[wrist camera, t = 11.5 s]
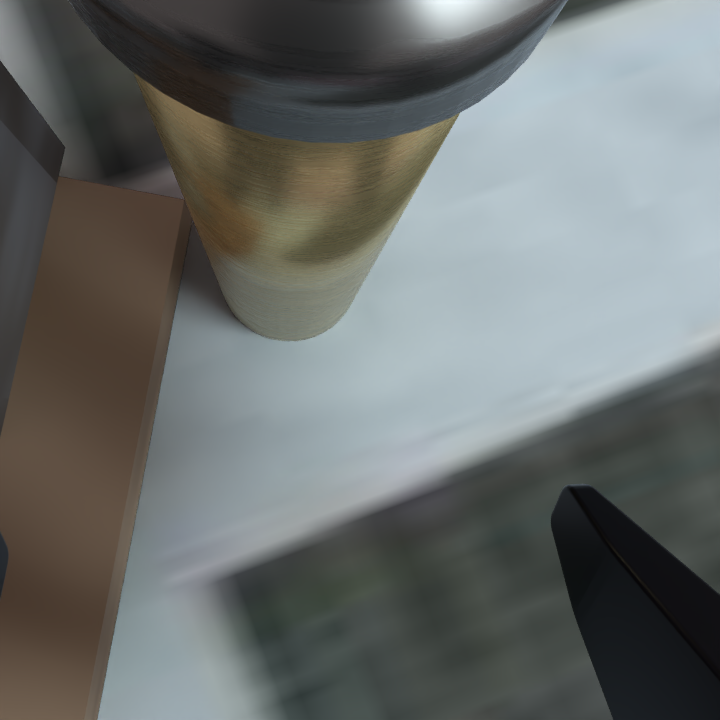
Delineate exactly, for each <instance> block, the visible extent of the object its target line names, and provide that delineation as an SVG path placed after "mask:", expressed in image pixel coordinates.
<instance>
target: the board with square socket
mask: <svg viewBox="0 0 720 720" xmlns="http://www.w3.org/2000/svg"><path fill="white" fill-rule="evenodd" d="M64 150H65V146H64V145H63V144H62V142H61V141H60V140H59V138H58V137H57V136H56V134H55V133H54V132H53V130H52V129H51V128H50V126H49V125H48V124H47V122H46V121H45V120H44V118H43V117H42V116H41V114H40V113H39V112H38V110H37V109H36V108H35V106H34V105H33V104H32V102H31V101H30V100H29V98H28V97H27V96H26V94H25V93H24V92H23V90H22V89H21V88H20V86H19V85H18V84H17V82H16V81H15V80H14V78H13V77H12V76H11V74H10V73H9V72H8V70H7V69H6V68H5V66H4V65H3V64H2V62H1V61H0V532H1V534H2V536H3V538H4V540H5V542H6V544H7V547H8V552H9V559H8V566H7V570H6V575H5V580H4V585H3V589H2V594H1V599H0V720H97V718H98V712H99V707H100V702H101V697H102V691H103V686H104V681H105V676H106V670H107V665H108V660H109V655H110V649H111V644H112V639H113V634H114V628H115V623H116V618H117V613H118V607H119V602H120V597H121V591H122V586H123V581H124V576H125V570H126V565H127V560H128V555H129V549H130V544H131V539H132V534H133V528H134V523H135V518H136V513H137V507H138V502H139V497H140V492H141V486H142V481H143V476H144V471H145V465H146V460H147V455H148V450H149V444H150V439H151V434H152V428H153V423H154V418H155V413H156V407H157V402H158V397H159V392H160V386H161V381H162V376H163V371H164V365H165V360H166V355H167V350H168V344H169V339H170V334H171V329H172V323H173V318H174V313H175V308H176V302H177V297H178V292H179V287H180V281H181V276H182V271H183V265H184V260H185V255H186V250H187V244H188V239H189V234H190V229H191V223H192V217H191V215H190V212H189V210H188V207H187V205H186V202H185V200H183V199H178V198H173V197H167V196H162V195H157V194H151V193H146V192H141V191H135V190H130V189H124V188H119V187H114V186H108V185H103V184H98V183H92V182H87V181H82V180H76V179H71V178H66V177H60V176H59V172H60V168H61V163H62V159H63V154H64Z"/></svg>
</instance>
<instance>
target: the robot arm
mask: <svg viewBox="0 0 720 720" xmlns="http://www.w3.org/2000/svg"><path fill="white" fill-rule="evenodd" d="M551 528H552V532H553V536H554V540H555V544H556V547H557V551H558V555H559V559H560V563H561V567H562V571H563V575H564V578H565V582H566V586H567V590H568V594H569V598H570V601H571V605H572V608H573V612H574V615H575V618H576V621H577V624H578V627H579V629H580V632H581V635H582V637H583V640H584V643H585V645H586V648H587V651H588V653H589V656H590V659H591V661H592V664H593V667H594V669H595V672H596V675H597V677H598V680H599V683H600V685H601V688H602V691H603V693H604V696H605V699H606V701H607V704H608V707H609V709H610V712H611V715H612V717H613V720H720V594H718V593H717V592H716V591H715V590H714V589H713V588H711V587H710V586H709V585H708V584H707V583H706V582H704V581H703V580H702V579H701V578H700V577H698V576H697V575H696V574H695V573H694V572H693V571H691V570H690V569H689V568H688V567H687V566H686V565H684V564H683V563H682V562H681V561H680V560H678V559H677V558H676V557H675V556H674V555H673V554H671V553H670V552H669V551H668V550H667V549H666V548H664V547H663V546H662V545H661V544H660V543H658V542H657V541H656V540H655V539H654V538H653V537H651V536H650V535H649V534H648V533H647V532H645V531H644V530H643V529H642V528H641V527H640V526H638V525H637V524H636V523H635V522H634V521H633V520H631V519H630V518H629V517H628V516H627V515H625V514H624V513H623V512H622V511H621V510H620V509H618V508H617V507H616V506H615V505H614V504H613V503H611V502H610V501H609V500H608V499H607V498H605V497H604V496H603V495H602V494H601V493H600V492H598V491H597V490H596V489H595V488H594V487H592V486H590V485H588V484H573V485H566V486H565V487H564V488H563V489H562V491H561V493H560V496H559V498H558V501H557V503H556V505H555V508H554V510H553V513H552V516H551ZM8 559H9V552H8V547H7V544H6V542H5V540H4V538H3V536H2V534H1V532H0V599H1V594H2V589H3V585H4V580H5V575H6V570H7V566H8Z"/></svg>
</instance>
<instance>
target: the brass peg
mask: <svg viewBox="0 0 720 720" xmlns="http://www.w3.org/2000/svg"><path fill="white" fill-rule="evenodd" d="M68 1H69V2H70V4H71V5H72V7H73V8H74V10H75V12H76V13H77V15H78V16H79V17H80V18H81V19H82V21H83V22H84V23H85V24H86V25H87V26H88V28H89V29H90V30H91V31H92V32H93V34H94V35H95V36H96V37H97V38H98V40H99V41H100V42H101V43H102V44H103V45H104V46H105V47H106V48H107V49H108V50H109V51H110V52H111V53H113V54H114V55H115V56H116V57H117V58H118V59H119V60H120V61H121V62H122V63H123V64H124V65H126V66H127V67H128V68H129V69H130V70H131V71H132V72H133V73H134V75H135V78H136V80H137V82H138V85H139V87H140V90H141V92H142V95H143V97H144V100H145V102H146V105H147V107H148V110H149V112H150V115H151V117H152V120H153V122H154V125H155V127H156V130H157V132H158V134H159V137H160V139H161V142H162V144H163V147H164V149H165V152H166V154H167V157H168V159H169V162H170V164H171V167H172V169H173V172H174V174H175V177H176V179H177V182H178V184H179V187H180V189H181V191H182V194H183V196H184V199H185V201H186V204H187V206H188V209H189V211H190V214H191V216H192V219H193V221H194V224H195V226H196V229H197V231H198V234H199V236H200V239H201V241H202V243H203V246H204V248H205V251H206V253H207V256H208V258H209V261H210V263H211V266H212V268H213V271H214V273H215V276H216V278H217V281H218V283H219V286H220V288H221V291H222V293H223V295H224V298H225V300H226V302H227V304H228V306H229V307H230V309H231V311H232V312H233V313H234V315H235V316H236V317H237V318H238V319H239V320H240V321H241V322H242V323H243V324H244V325H245V326H247V327H248V328H250V329H251V330H252V331H254V332H256V333H258V334H260V335H262V336H265V337H268V338H271V339H275V340H281V341H299V340H305V339H309V338H312V337H315V336H317V335H320V334H322V333H324V332H325V331H327V330H328V329H330V328H331V327H333V326H334V325H335V324H336V323H337V322H338V321H339V320H340V319H341V318H342V317H343V316H344V314H345V313H346V311H347V310H348V308H349V307H350V305H351V303H352V301H353V300H354V298H355V296H356V294H357V293H358V291H359V289H360V287H361V286H362V284H363V282H364V280H365V279H366V277H367V275H368V273H369V272H370V270H371V268H372V266H373V265H374V263H375V261H376V259H377V258H378V256H379V254H380V252H381V251H382V249H383V247H384V245H385V244H386V242H387V240H388V238H389V237H390V235H391V233H392V231H393V230H394V228H395V226H396V224H397V223H398V221H399V219H400V217H401V216H402V214H403V212H404V210H405V208H406V207H407V205H408V203H409V201H410V200H411V198H412V196H413V194H414V193H415V191H416V189H417V187H418V186H419V184H420V182H421V180H422V179H423V177H424V175H425V173H426V172H427V170H428V168H429V166H430V165H431V163H432V161H433V159H434V158H435V156H436V154H437V152H438V151H439V149H440V147H441V145H442V144H443V142H444V140H445V138H446V137H447V135H448V133H449V131H450V130H451V128H452V126H453V124H454V123H455V121H456V119H457V117H458V116H459V114H460V112H462V111H464V110H465V109H467V108H469V107H471V106H472V105H474V104H476V103H478V102H479V101H481V100H482V99H483V98H485V97H486V96H487V95H489V94H490V93H491V92H493V91H494V90H495V89H496V88H498V87H499V86H500V85H502V84H503V83H504V82H505V81H506V80H507V79H508V78H509V77H510V76H511V75H512V74H513V73H514V72H515V71H516V70H517V69H518V68H519V67H520V66H521V65H522V64H523V63H524V62H525V61H526V60H527V59H528V57H529V56H530V54H531V53H532V52H533V50H534V49H535V47H536V46H537V45H538V43H539V42H540V40H541V39H542V38H543V36H544V35H545V33H546V32H547V30H548V29H549V27H550V26H551V24H552V23H553V22H554V20H555V19H556V17H557V16H558V14H559V13H560V11H561V10H562V8H563V7H564V5H565V4H566V2H567V1H568V0H68Z"/></svg>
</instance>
